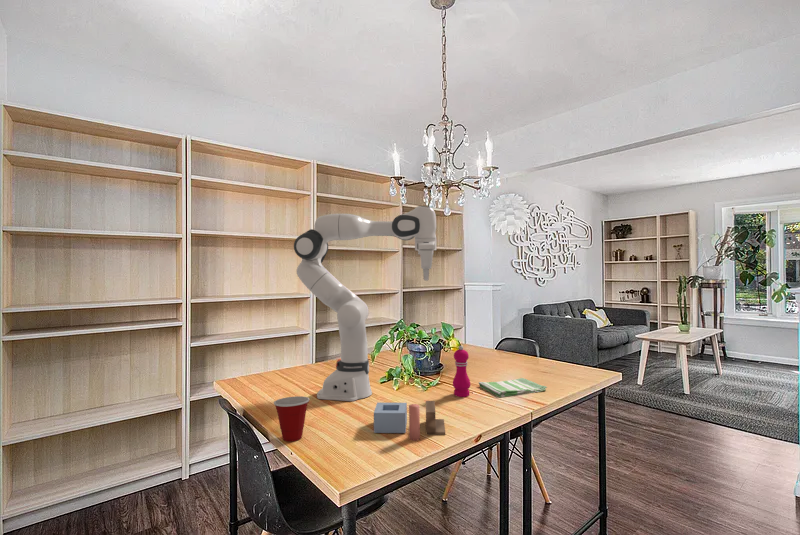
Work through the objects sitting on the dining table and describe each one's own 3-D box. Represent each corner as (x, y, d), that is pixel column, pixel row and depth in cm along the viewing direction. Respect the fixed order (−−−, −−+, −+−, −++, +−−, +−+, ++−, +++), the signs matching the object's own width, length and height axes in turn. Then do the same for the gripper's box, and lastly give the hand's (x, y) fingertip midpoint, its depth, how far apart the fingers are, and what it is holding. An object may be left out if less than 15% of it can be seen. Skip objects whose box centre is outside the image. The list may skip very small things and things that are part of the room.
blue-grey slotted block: (373, 432, 132) (373, 412, 132) (377, 420, 142) (377, 402, 142) (405, 433, 131) (405, 413, 131) (406, 421, 141) (406, 402, 141)
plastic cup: (307, 428, 136) (306, 392, 136) (313, 441, 126) (312, 401, 126) (272, 434, 132) (271, 396, 132) (276, 447, 122) (275, 407, 122)
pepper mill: (470, 397, 165) (469, 347, 165) (452, 397, 167) (451, 347, 167) (471, 392, 172) (470, 344, 172) (453, 391, 174) (452, 343, 174)
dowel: (409, 440, 126) (408, 407, 126) (409, 436, 129) (409, 404, 129) (419, 440, 126) (419, 407, 126) (419, 436, 129) (419, 404, 129)
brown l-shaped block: (426, 434, 130) (425, 412, 130) (426, 421, 141) (425, 400, 141) (445, 434, 130) (445, 412, 130) (443, 421, 141) (443, 400, 141)
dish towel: (548, 392, 173) (548, 385, 173) (500, 399, 165) (500, 392, 165) (521, 381, 190) (521, 375, 190) (477, 387, 182) (476, 381, 182)
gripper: (417, 247, 180) (418, 279, 180) (418, 245, 160) (418, 281, 160) (432, 247, 180) (432, 279, 180) (434, 244, 159) (435, 280, 159)
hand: (426, 280), depth 170 cm, fingers open, 8 cm apart
